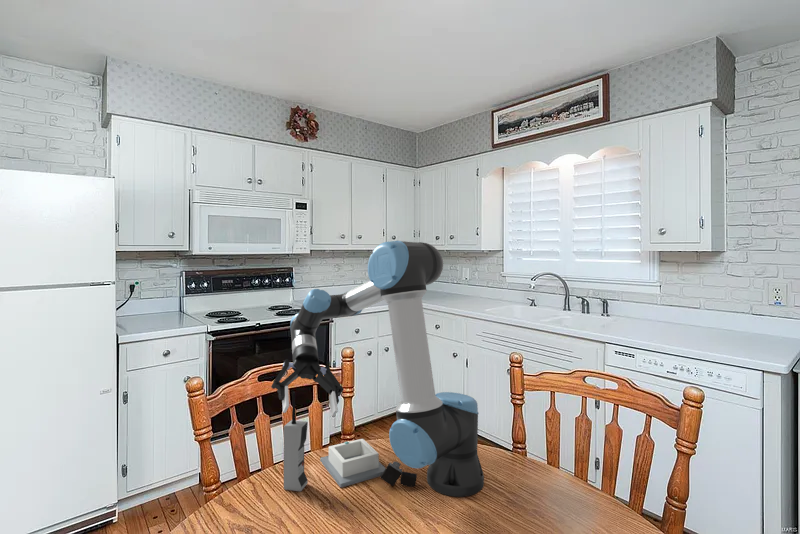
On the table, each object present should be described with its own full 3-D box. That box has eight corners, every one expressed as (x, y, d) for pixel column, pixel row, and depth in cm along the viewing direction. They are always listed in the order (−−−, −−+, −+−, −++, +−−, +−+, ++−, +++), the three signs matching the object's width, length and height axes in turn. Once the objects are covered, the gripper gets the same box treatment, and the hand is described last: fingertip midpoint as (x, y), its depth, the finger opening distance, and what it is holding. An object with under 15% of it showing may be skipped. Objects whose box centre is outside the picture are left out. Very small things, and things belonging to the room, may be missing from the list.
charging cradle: (388, 473, 113) (388, 454, 113) (340, 487, 106) (340, 467, 106) (363, 450, 127) (363, 433, 127) (320, 461, 120) (320, 443, 120)
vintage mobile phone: (301, 492, 104) (301, 394, 103) (283, 489, 105) (283, 393, 104) (307, 484, 108) (307, 390, 107) (290, 482, 109) (290, 388, 108)
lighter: (408, 491, 109) (420, 474, 109) (408, 496, 107) (420, 478, 107) (380, 473, 109) (392, 456, 109) (380, 478, 107) (392, 460, 107)
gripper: (338, 367, 132) (348, 423, 116) (260, 355, 121) (259, 416, 104) (347, 350, 129) (359, 406, 112) (268, 337, 118) (268, 397, 101)
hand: (311, 411), depth 108 cm, fingers open, 13 cm apart
